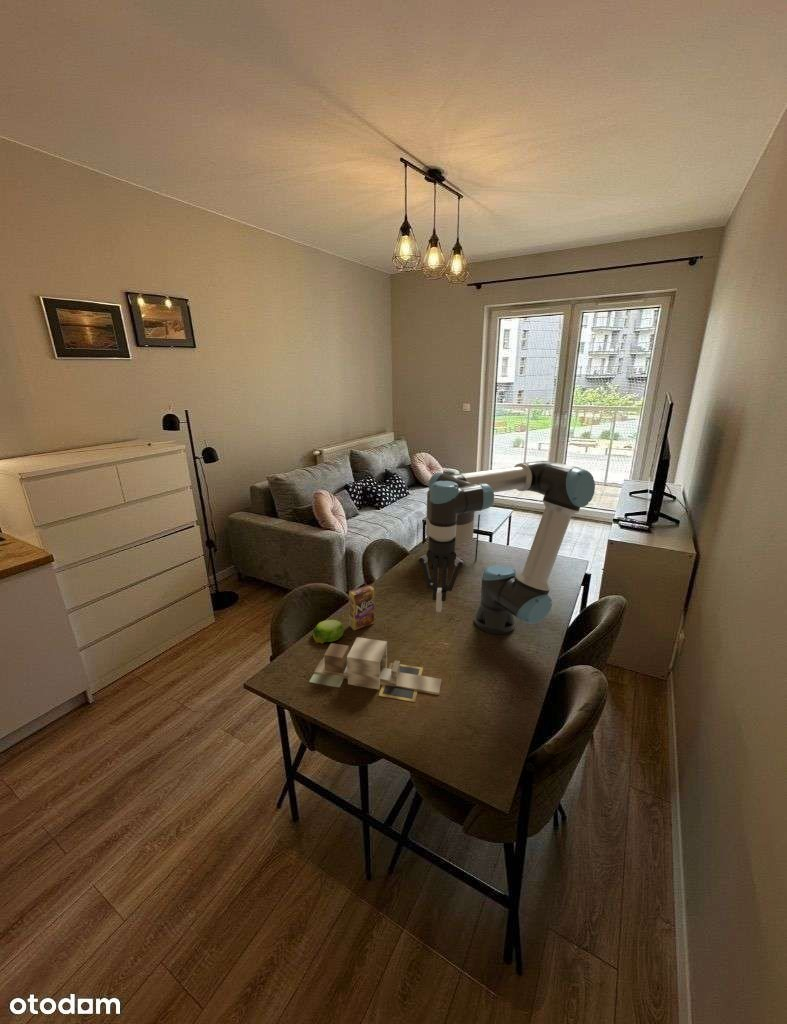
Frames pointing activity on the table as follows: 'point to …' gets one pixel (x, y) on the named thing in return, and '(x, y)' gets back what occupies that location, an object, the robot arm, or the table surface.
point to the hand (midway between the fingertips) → (438, 609)
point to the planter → (458, 526)
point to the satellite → (377, 673)
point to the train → (338, 664)
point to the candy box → (361, 607)
